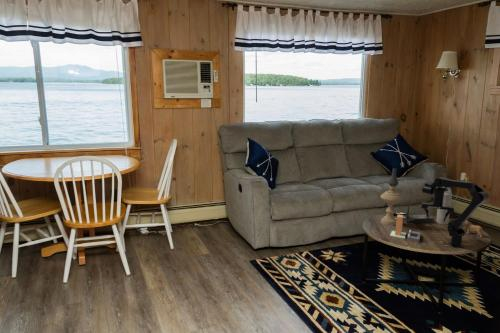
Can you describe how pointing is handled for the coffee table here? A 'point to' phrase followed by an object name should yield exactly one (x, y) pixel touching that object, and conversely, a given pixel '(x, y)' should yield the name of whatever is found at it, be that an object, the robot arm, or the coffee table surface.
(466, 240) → the coffee table surface
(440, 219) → the thermos bottle
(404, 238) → the mat
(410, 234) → the dispenser
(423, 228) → the coffee table surface
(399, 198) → the wooden candle holder
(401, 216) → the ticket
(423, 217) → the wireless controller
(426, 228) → the coffee table surface
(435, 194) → the robot arm
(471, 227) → the lion figurine
